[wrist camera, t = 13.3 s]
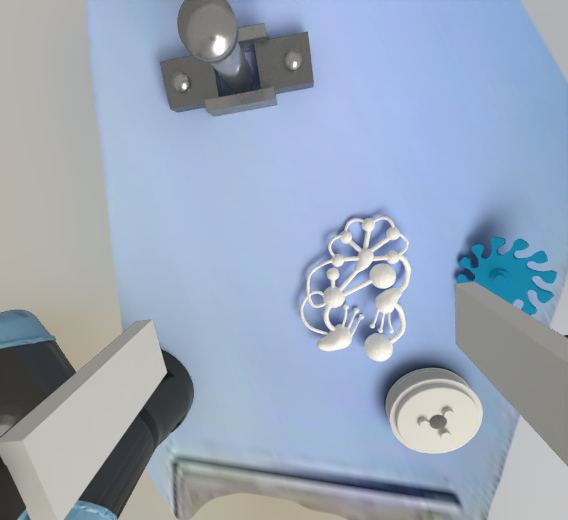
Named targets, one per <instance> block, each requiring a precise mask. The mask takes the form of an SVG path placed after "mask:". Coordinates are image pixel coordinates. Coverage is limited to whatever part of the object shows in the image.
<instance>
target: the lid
mask: <svg viewBox="0 0 568 520" xmlns="http://www.w3.org/2000/svg"><path fill="white" fill-rule="evenodd" d="M385 406H386V413H387V417H388V419H389V421H390V425H391V428H392V431H393V433H394V434H395V436H396V437H397V439H398V440H399V441H400V442H401V443H403V444H404V445H405V446H407V447H409V448H411V449H413V450H415V451H418V452H422V453H433V454H436V453H445V452H450V451H453V450H455V449H458V448H460V447H461V446H463V445H464V444H466V443H467V442H468V441H469V440H470V439H471V438H472V437H473V436H474V435H475V434H476V433H477V431H478V429H479V427H480V425H481V422H482V415H483V411H482V406H481V403H480V401H479V399H478V397H477V396H476V394H475V393H474V392H473V391H472V390H471V389H470V387H469V386H468V384H467V383H466V382H465V381H464V380H463V379H462V378H461V377H460V376H458V375H457V374H455V373H453V372H451V371H448V370H445V369H441V368H423V369H419V370H415V371H412V372H410V373H408V374H406V375H404V376H403V377H401V378H400V379H399V380H398V381H397V382H396V383H395V384H394V385H393V386H392V387H391V389H390V391H389V393H388V395H387V398H386V405H385Z"/></svg>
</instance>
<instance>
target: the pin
mask: <svg viewBox="0 0 568 520" xmlns="http://www.w3.org/2000/svg"><path fill="white" fill-rule="evenodd" d="M177 23H178V32H179V35H180V38H181V40H182V42H183V44H184V45H185V47H186V48H187V49H188V50H189V51H190V52H191V53H192V55H193V56H195V57H196V58H197V59H198V60H200V61H202V62H205V63H211V64H212V66H213V67H214V68H215V69H216V70H217V72H218V73H219V74H220V75H221V77H222V78H223V79H224V80H225V82H226V83H227V84H228V85H229V86H230V88H231V89H232V90H234V91H236V92H244V91H246V90H248V89H249V88H250V86H251V85H252V82H253V73H252V71H251V68H250V66H249V64H248V62H247V60H246V58H245V56H244V54H243V52H242V50H241V48H240V46H239V44H238V42H237V40H238V24H237V21H236V18H235V16H234V13H233V11H232V9H231V7H230V5H229V3H228V2H227V1H226V0H185V1H184V2H183V4H182V5H181V8H180V10H179V14H178V22H177Z"/></svg>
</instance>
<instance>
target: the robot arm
mask: <svg viewBox="0 0 568 520" xmlns="http://www.w3.org/2000/svg"><path fill="white" fill-rule="evenodd" d="M455 329H456V345H457V346H458V347H459V348H460V349H461V350H462V351H463V352H464V353H465V355H466V356H467V357H468V358H469V359H470V360H471V361H472V362H473V363H474V364H475V365H476V367H477V368H478V369H479V370H480V371H481V372H482V373H483V374H484V375H485V376H486V377H487V379H488V380H489V381H490V382H491V383H492V384H493V385H494V386H495V387H496V388H497V390H498V391H499V392H500V393H501V394H502V395H503V396H504V397H505V398H506V399H507V400H508V402H509V403H510V404H511V405H512V406H513V407H514V408H515V409H516V410H517V411H518V412H519V414H520V415H521V416H522V417H523V418H524V419H525V420H526V421H527V422H528V423H529V425H530V426H531V427H532V428H533V429H534V430H535V431H536V432H537V433H538V434H539V435H540V437H541V438H542V439H543V440H544V441H545V442H546V443H547V444H548V445H549V446H550V447H551V449H552V450H553V451H554V452H555V453H556V454H557V455H558V456H559V457H560V458H561V460H562V461H563V462H564V463H565V464H566V465H567V466H568V335H564V336H563V335H561V334H560V333H558V332H556V331H555V330H553V329H551V328H550V327H548V326H547V325H545V324H543V323H542V322H540V321H538V320H537V319H535V318H533V317H532V316H530V315H528V314H527V313H525V312H524V311H522V310H520V309H519V308H517V307H515V306H514V305H512V304H510V303H509V302H507V301H505V300H504V299H502V298H501V297H499V296H497V295H496V294H494V293H492V292H491V291H489V290H487V289H486V288H484V287H482V286H481V285H479V284H478V283H476V282H467V283H458V284H455ZM55 340H56V339H55V337H54V336H51V335H50V334H49V332H48V331H47V330H46V329H45V328H44V326H43V325H42V324H41V323H40V321H39V320H38V319H37V317H36V316H34V314H32V313H30V312H28V311H25V310H10V311H5V312H1V313H0V520H118V518H119V516H120V514H121V512H122V510H123V508H124V507H125V505H126V503H127V501H128V499H129V497H130V495H131V494H132V491H133V490H134V488H135V486H136V484H137V482H138V480H139V478H140V477H141V475H142V473H143V471H144V469H145V467H146V466H147V464H148V462H149V460H150V458H151V456H152V454H153V453H154V451H155V449H156V447H157V446H158V445H159V444H160V443H161V442H163V441H164V440H165V439H166V438H167V437H168V435H169V434H170V433H171V432H173V431H174V430H175V429H177V428H178V427H179V426H180V425H181V423H182V422H183V421H184V419H185V418H186V416H187V414H188V412H189V410H190V408H191V405H192V402H193V398H194V389H193V384H192V380H191V378H190V376H189V374H188V372H187V371H186V369H185V368H184V367H183V365H182V364H181V363H180V362H179V361H178V360H177V359H175V358H174V357H173V356H171V355H170V354H168V353H166V352H164V351H162V350H161V349H160V345H159V342H158V338H157V335H156V331H155V328H154V324H153V321H152V320H144V321H136V322H135V323H134V324H133V325H132V326H130V327H129V328H128V329H127V330H126V331H125V332H123V333H122V334H121V335H120V336H119V337H118V338H116V339H115V340H114V341H113V342H112V343H111V344H109V345H108V346H107V347H106V348H105V349H104V350H102V351H101V352H100V353H99V354H98V355H97V356H95V357H94V358H93V359H92V360H91V361H90V362H88V363H87V364H86V365H85V366H84V367H83V368H81V369H80V370H79V371H78V372H77V373H76V371H75V370H74V368H73V367H72V365H71V364H70V363H69V361H68V360H67V358H66V357H65V355H64V354H63V352H62V351H61V349H60V348H59V346H58V345H57V343H56V342H55Z"/></svg>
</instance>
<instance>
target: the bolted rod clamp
mask: <svg viewBox="0 0 568 520" xmlns="http://www.w3.org/2000/svg"><path fill="white" fill-rule="evenodd" d="M237 42H238V44H239V46H240V48H241V50H242V52H243V53H244V52H249V51H254V50H255V53H256V59H257V66H258V72H259V79H260V85H261V90H255V91H250V92H245V93H239V94H234V95H229V96H224V97H222V91H221V86H220V81H219V75H218V72H217V70H216V69H215V68H214V67H213V66H212V64H211V63H205V62H202V61H200V60H198V59H197V58H196V57H195V56H193V55H191V56H186V57H181V58H177V59H172V60H167V61H162V62H160V65H161V69H162V74H163V78H164V83H165V87H166V91H167V96H168V100H169V105H170V109H171V110H173V111H175V112H183V111H188V110H194V109H199V108H204V107H206V111H207V112H208V113H210V114H211V115H213V116H220V115H225V114H230V113H236V112H241V111H247V110H252V109H258V108H263V107H269V106H274V105H277V98H276V94H279V93H285V92H290V91H295V90H301V89H306V88H311V87H313V83H314V81H313V72H312V64H311V55H310V46H309V38H308V32H303V33H299V34H294V35H289V36H284V37H279V38H274V39H269V40H268V36H267V32H266V28H265V24H264V23H262V24H257V25H253V26H248V27H243V28H238V40H237Z"/></svg>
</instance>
